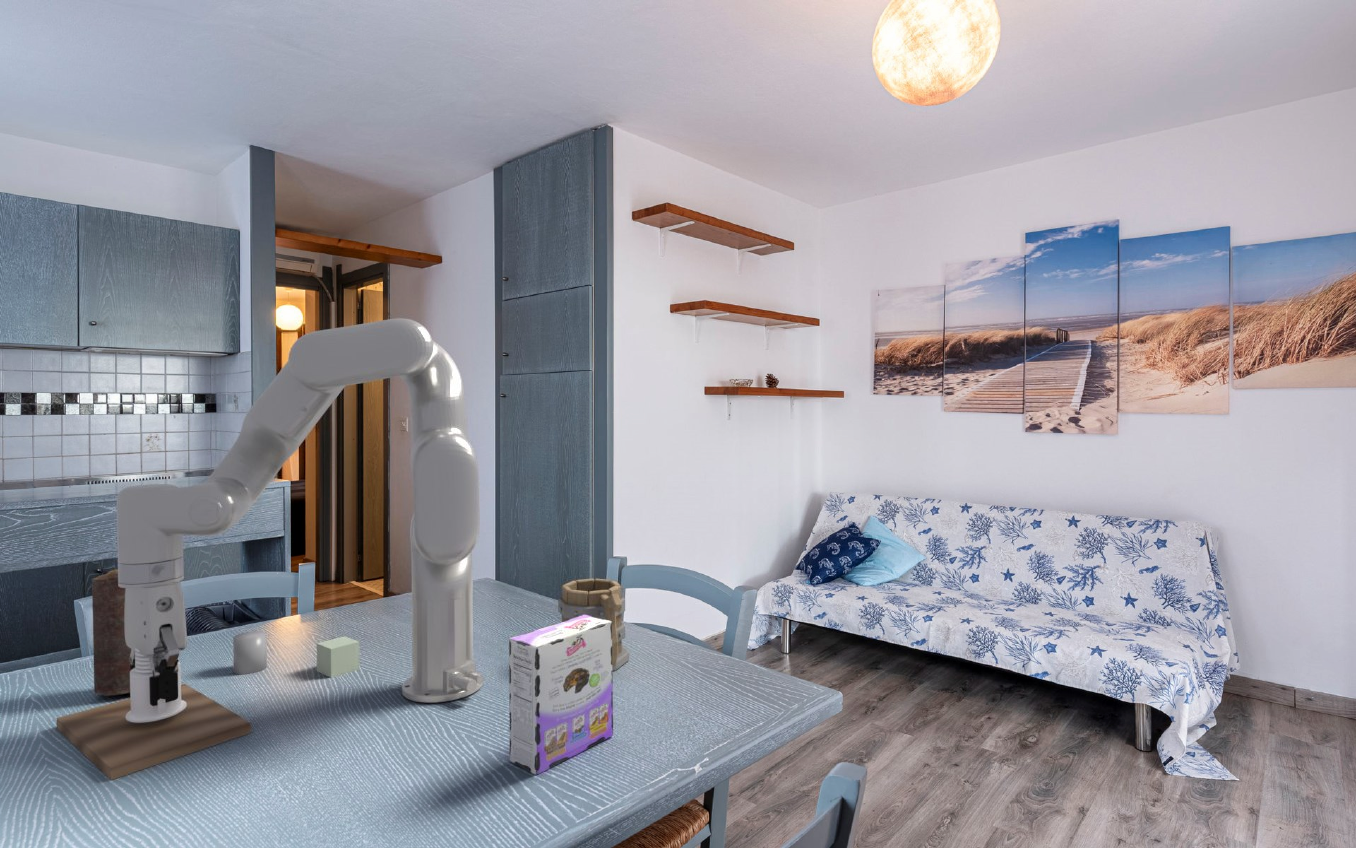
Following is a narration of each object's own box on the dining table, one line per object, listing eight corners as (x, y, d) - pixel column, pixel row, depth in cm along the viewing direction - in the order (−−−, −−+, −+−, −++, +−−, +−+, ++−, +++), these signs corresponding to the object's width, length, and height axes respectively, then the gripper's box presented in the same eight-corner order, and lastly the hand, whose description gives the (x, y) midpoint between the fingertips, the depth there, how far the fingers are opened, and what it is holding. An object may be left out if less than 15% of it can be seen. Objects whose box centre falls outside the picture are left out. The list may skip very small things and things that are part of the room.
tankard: (549, 655, 133) (549, 575, 132) (614, 646, 138) (614, 569, 137) (577, 694, 114) (577, 601, 114) (651, 682, 119) (651, 593, 119)
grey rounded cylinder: (271, 668, 126) (271, 634, 126) (241, 676, 122) (240, 642, 122) (259, 662, 129) (258, 629, 129) (228, 670, 125) (228, 636, 125)
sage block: (359, 669, 125) (359, 641, 125) (331, 678, 121) (331, 649, 121) (344, 663, 128) (344, 636, 128) (316, 671, 124) (316, 643, 124)
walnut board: (250, 733, 100) (250, 722, 100) (111, 780, 88) (110, 768, 88) (185, 693, 115) (184, 683, 115) (56, 728, 102) (56, 718, 102)
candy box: (585, 725, 103) (585, 612, 103) (614, 737, 99) (614, 620, 99) (507, 761, 92) (506, 636, 92) (536, 776, 88) (536, 645, 88)
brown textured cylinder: (118, 704, 110) (116, 576, 110) (80, 700, 112) (78, 574, 111) (163, 686, 118) (161, 566, 117) (127, 682, 119) (125, 564, 119)
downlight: (121, 711, 101) (119, 642, 101) (180, 696, 106) (178, 631, 106) (130, 731, 96) (128, 658, 95) (192, 714, 101) (190, 645, 100)
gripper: (206, 575, 99) (208, 702, 99) (160, 559, 109) (162, 674, 109) (141, 586, 93) (144, 721, 93) (99, 568, 103) (102, 690, 103)
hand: (154, 695), depth 101 cm, fingers closed on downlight, 7 cm apart
